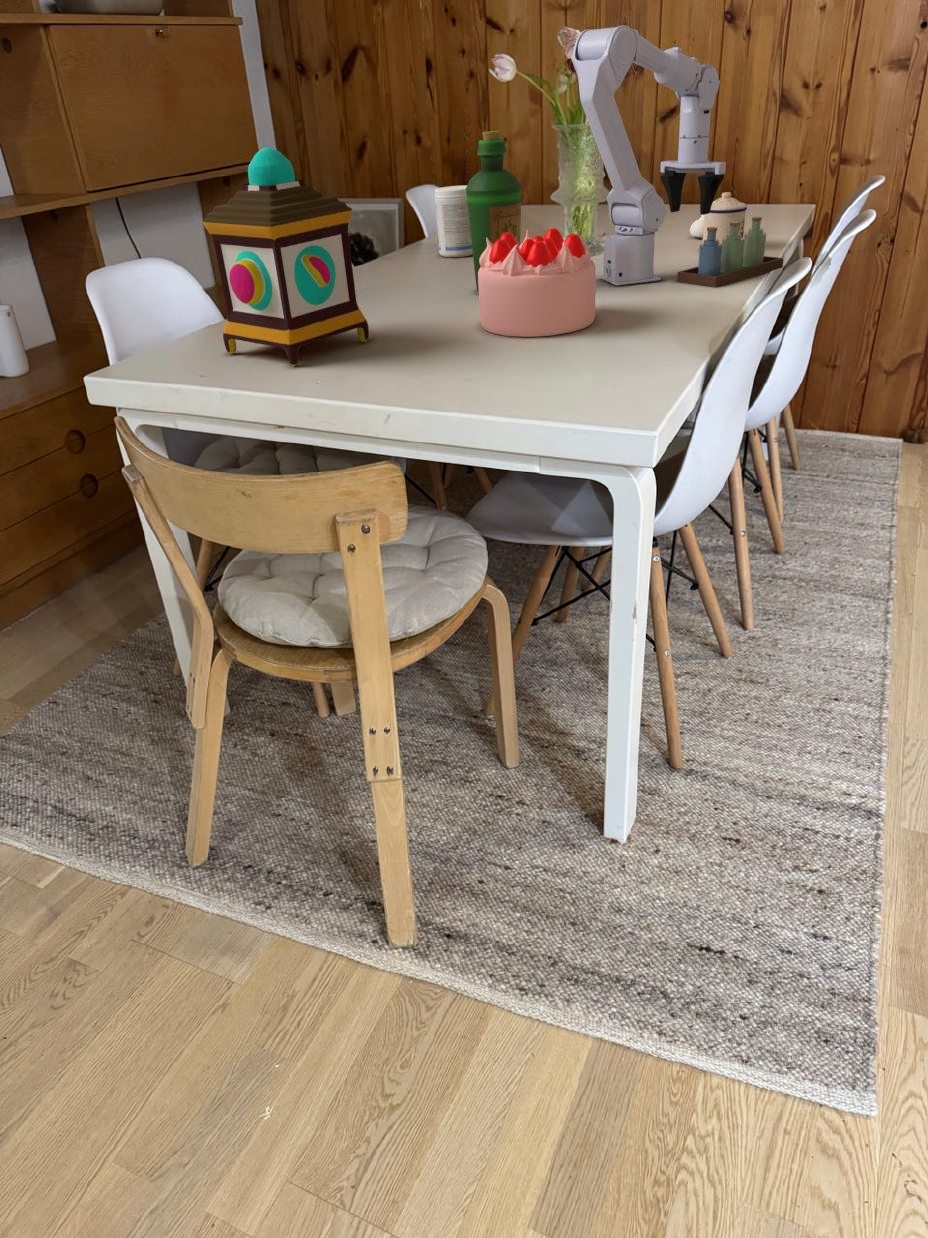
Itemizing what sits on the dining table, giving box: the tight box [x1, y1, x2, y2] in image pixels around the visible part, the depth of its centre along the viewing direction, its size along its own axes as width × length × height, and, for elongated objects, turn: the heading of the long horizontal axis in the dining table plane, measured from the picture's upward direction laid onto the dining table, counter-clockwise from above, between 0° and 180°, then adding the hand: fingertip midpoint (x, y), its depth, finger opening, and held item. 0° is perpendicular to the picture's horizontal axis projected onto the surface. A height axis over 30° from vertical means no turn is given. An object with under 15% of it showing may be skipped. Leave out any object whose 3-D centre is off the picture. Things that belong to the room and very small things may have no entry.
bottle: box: [466, 130, 522, 293], centre depth 172 cm, size 11×11×28 cm
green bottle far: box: [742, 215, 767, 267], centre depth 180 cm, size 4×4×9 cm
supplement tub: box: [434, 184, 473, 258], centre depth 214 cm, size 10×10×15 cm
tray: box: [676, 255, 785, 288], centre depth 178 cm, size 21×9×2 cm, turn 129°
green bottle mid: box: [720, 222, 745, 273], centre depth 176 cm, size 4×4×9 cm
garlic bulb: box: [689, 214, 705, 239], centre depth 214 cm, size 6×6×8 cm
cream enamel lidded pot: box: [702, 191, 748, 244], centre depth 199 cm, size 12×9×12 cm
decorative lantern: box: [202, 146, 370, 367], centre depth 144 cm, size 20×20×30 cm
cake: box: [478, 227, 597, 338], centre depth 151 cm, size 20×20×14 cm
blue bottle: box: [697, 227, 722, 276], centre depth 172 cm, size 4×4×9 cm
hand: (689, 212), depth 182 cm, fingers open, 7 cm apart
